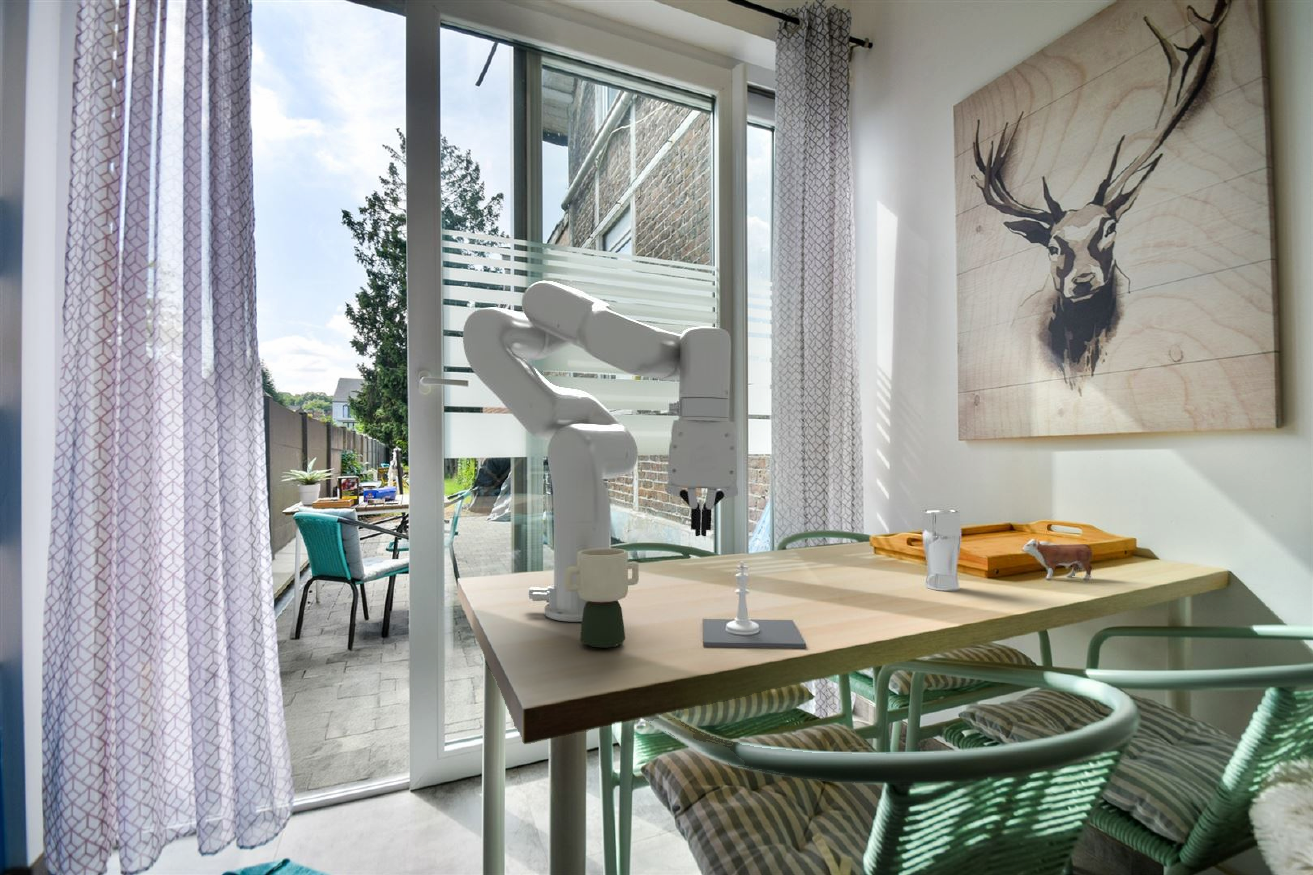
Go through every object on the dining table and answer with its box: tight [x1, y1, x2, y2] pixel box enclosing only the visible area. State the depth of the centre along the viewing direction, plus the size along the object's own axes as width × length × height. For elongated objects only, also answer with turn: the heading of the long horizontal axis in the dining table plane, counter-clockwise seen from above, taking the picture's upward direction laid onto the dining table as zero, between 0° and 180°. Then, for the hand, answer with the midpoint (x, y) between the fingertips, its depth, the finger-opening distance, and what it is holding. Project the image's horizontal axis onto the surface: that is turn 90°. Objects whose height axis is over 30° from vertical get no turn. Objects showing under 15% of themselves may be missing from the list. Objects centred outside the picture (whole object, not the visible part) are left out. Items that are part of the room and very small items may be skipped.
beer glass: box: [921, 509, 962, 592], centre depth 122 cm, size 7×7×15 cm
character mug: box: [565, 547, 640, 648], centre depth 87 cm, size 11×7×13 cm, turn 114°
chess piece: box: [726, 561, 760, 635], centre depth 92 cm, size 5×5×10 cm
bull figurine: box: [1021, 538, 1093, 581], centre depth 130 cm, size 4×13×8 cm, turn 82°
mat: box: [702, 618, 807, 649], centre depth 91 cm, size 14×12×1 cm
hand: (700, 534), depth 92 cm, fingers closed
